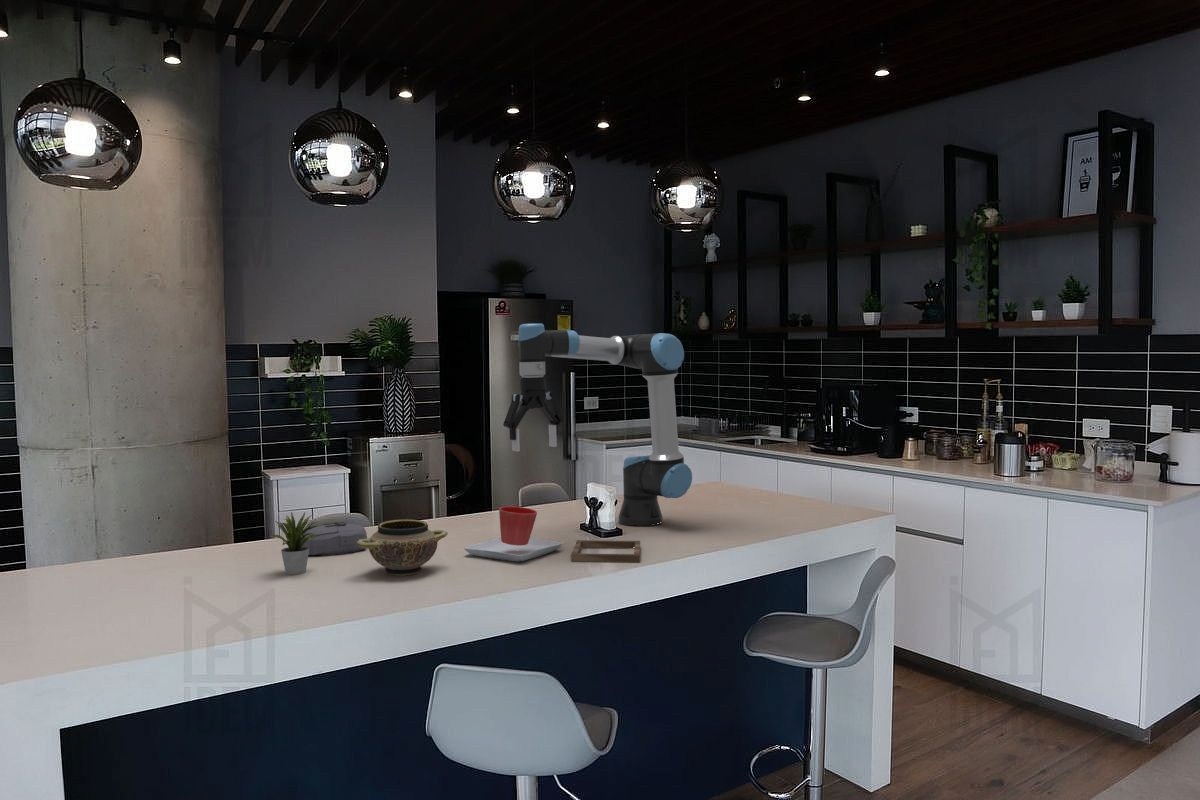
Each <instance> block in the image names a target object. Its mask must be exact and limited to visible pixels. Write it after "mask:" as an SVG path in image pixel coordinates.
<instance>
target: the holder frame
mask: <svg viewBox="0 0 1200 800" xmlns="http://www.w3.org/2000/svg"><path fill="white" fill-rule="evenodd" d="M633 547H635V548H634V549H633V550H634V551H633V553H581V551H582V549H628V548H633ZM640 555H641V540H593V539H592V540H588V539H587V540H582V539H581V540H579V539H578V540H576V542H575V544H574V546H573V548H572V551H571V554H570V562H571V561H574V562H573V563H575V562H576V561H578V562H577V563H640V559H639V558H641V557H640Z"/></svg>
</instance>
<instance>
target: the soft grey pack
mask: <svg viewBox="0 0 1200 800" xmlns="http://www.w3.org/2000/svg"><path fill="white" fill-rule="evenodd" d="M320 525H321V526H317V527H314V528H312V529H310V530H308V531H306V533H305V534H307V533H315V532H316V533H315V534H316V536H313V537H312V538H313V539H314V541H313V540H312V539H308V540H307V541H306V542H305V543H304V544H303V546H305V547H309V554H308V556H334V554H336V555H344V554H350V552H351V553H356V552H360V551H364V550H366V549H365V548H361V547H359V546H358V545H357V541H358V540H360V539H368V535H367V531H366V529H365V527H364V526H363V525H361V524H355V523H347V522H345V521H341V522H331V523H326V524H325V523H324V524H320ZM318 531H320V532H318ZM303 534H304V533H303ZM305 534H304V535H305ZM315 534H313V535H315ZM310 535H312V534H309V535H307V536H306V537H308V536H310ZM302 536H303V535H302ZM306 537H305V538H306ZM301 538H302V537H301ZM303 540H304V538H303ZM303 540H302V541H303ZM302 541H301V542H302ZM301 546H302V545H301ZM343 553H344V554H343Z"/></svg>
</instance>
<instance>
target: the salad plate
mask: <svg viewBox="0 0 1200 800" xmlns="http://www.w3.org/2000/svg"><path fill="white" fill-rule="evenodd" d="M563 544H564V543H563V542H562V541H561V542H560V541H554V540H549V539H542V538H541V539H540V538H532V537H530V538H529V542H528V544H527V545H522V546H517V545H509V544H506V543H503V542H502V541H501V536H500V537H497V538H494V539H493V538H492V539H489V540H485V541H482V542H478V543H475V544H472V545H468V546H465V547H464V548H463V549H464V550H465V551H466V552H467V553H468V554H470V555H472V556H475V557H479V556H481V557H480V558H486V557H488V558H487V559H492V558H495V560H499V559H502V560H501V561H506V560H509V561H508V562H514V561H516V562H518V563H520V561H521V562H525V560H526V561H528V559H529V560H532V559H534V557H535V558H538V557H541V556H544V554H545V555H548V554H550V552H551V553H553V552H555V551H558V550H559V549H560V548H561V547H562V545H563ZM517 550H518V551H517ZM547 553H548V554H547ZM531 558H532V559H531ZM516 562H515V563H516Z"/></svg>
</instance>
